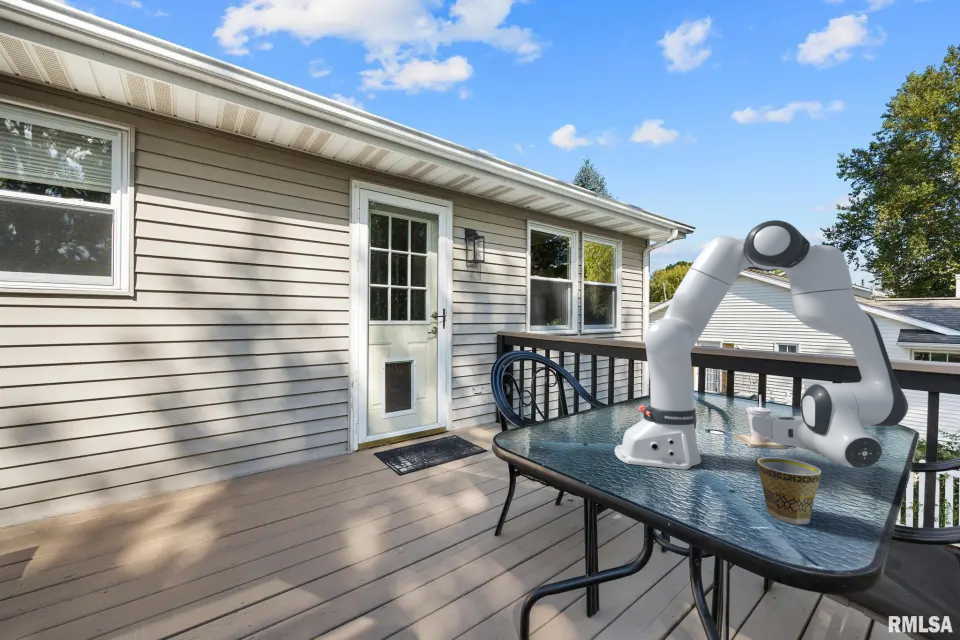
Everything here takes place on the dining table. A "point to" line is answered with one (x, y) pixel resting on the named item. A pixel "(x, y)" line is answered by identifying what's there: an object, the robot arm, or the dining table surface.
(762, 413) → the smoothie
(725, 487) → the dining table surface
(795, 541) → the dining table surface
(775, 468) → the ceramic cup
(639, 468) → the dining table surface
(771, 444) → the maple pad
